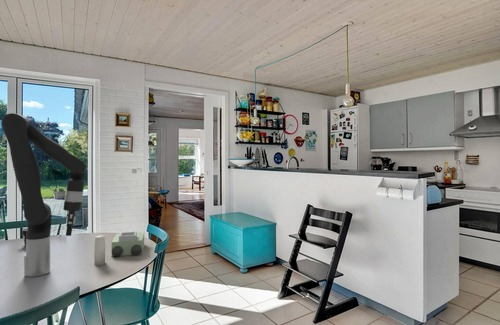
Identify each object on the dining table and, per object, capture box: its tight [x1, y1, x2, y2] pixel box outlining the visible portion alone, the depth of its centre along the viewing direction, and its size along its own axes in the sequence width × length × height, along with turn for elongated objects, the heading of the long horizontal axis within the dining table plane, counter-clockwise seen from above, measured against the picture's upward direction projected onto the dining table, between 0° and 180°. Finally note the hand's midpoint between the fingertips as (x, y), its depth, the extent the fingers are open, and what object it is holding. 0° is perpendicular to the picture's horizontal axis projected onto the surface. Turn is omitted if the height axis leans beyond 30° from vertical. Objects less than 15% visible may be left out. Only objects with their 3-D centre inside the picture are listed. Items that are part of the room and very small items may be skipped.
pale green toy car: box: [111, 231, 145, 258], centre depth 174 cm, size 16×21×11 cm
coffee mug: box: [22, 227, 28, 247], centre depth 183 cm, size 12×9×10 cm
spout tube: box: [93, 234, 106, 266], centre depth 153 cm, size 5×5×14 cm
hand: (68, 234), depth 142 cm, fingers open, 8 cm apart
